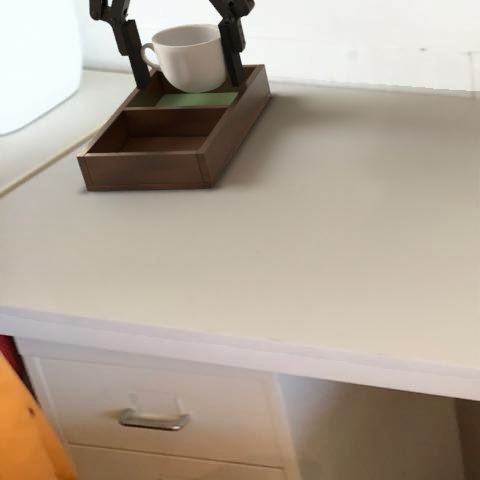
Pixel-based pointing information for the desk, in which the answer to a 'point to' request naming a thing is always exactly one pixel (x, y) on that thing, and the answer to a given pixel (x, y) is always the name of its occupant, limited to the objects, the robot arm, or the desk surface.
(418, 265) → the desk surface
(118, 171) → the wooden compartment tray
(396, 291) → the desk surface
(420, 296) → the desk surface
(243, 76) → the robot arm
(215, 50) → the teacup
